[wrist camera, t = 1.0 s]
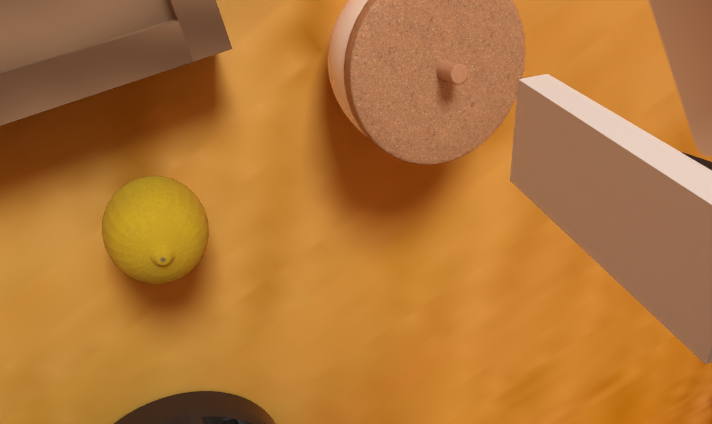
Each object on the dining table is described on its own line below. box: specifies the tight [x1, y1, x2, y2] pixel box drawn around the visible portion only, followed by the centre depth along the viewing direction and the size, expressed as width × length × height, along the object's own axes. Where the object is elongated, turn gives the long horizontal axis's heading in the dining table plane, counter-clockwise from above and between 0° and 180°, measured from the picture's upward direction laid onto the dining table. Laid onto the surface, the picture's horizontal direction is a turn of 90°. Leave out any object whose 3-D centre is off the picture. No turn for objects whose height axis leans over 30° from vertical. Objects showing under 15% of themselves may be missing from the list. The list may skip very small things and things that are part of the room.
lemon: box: [102, 176, 209, 284], centre depth 33 cm, size 6×6×8 cm
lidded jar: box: [328, 0, 525, 165], centre depth 34 cm, size 11×11×9 cm
